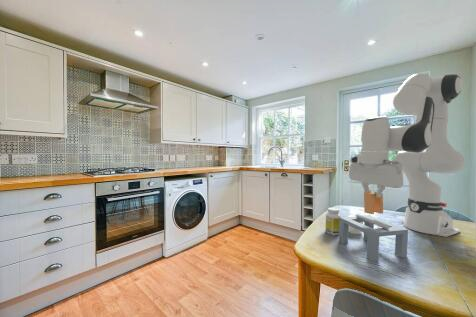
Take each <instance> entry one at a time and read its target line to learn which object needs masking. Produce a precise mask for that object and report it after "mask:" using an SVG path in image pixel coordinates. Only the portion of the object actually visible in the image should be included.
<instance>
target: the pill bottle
mask: <svg viewBox="0 0 476 317" xmlns="http://www.w3.org/2000/svg"><path fill="white" fill-rule="evenodd" d="M339 213H340V209H339V208H337V207H328V208H327V213H326V214H325V232H326V233H327V234H329V235H331V236H332V235H333V236H339V218H340V217H342V216H341V214H339Z"/></svg>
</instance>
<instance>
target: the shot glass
mask: <svg viewBox="0 0 476 317" xmlns="http://www.w3.org/2000/svg"><path fill="white" fill-rule="evenodd" d="M351 216H356V214H347V215H346V217H351ZM359 223H361V224H363V225H364V222H359ZM348 233H351V234H355V235H361V234H362V233H363V232H362V231H359V230H357V229H355V228H353V227H351V226H349V228H348Z"/></svg>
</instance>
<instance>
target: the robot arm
mask: <svg viewBox="0 0 476 317" xmlns="http://www.w3.org/2000/svg"><path fill="white" fill-rule="evenodd" d="M462 89H463V80H462V78H461V77H460V76H459V74H445V75H442V76H435V77H431V76H430V75H428V74H425V73H422V72H421V73H415V74H412V75H411V76H409V77H407V79H406V80H405V81H404V82H403V83H402V84H401V86H399V88H398V90H397V92H396V93H395V95H394V97H393V99H392V105H393V107H394V109H395V110H396V111H398V113H401V114H403V115H407V116H416V118H415V122H414V123H411V124H408V125H395V126H391V125H390V121H389V117H388V116H375V117H374V116H373V117H369V118H366V119H365V120H364V121H363V124H362V127H361V138H360V141H361V142H360V143H361V150H360V154H357V155H355V156H352V157H350V159H349V163H350V165H349V169H348V170H349V172H348V178H349V179H350V181H355V182H361V186H362V187H363V194H364V193H372V189H370V188H369V185H370V184H371V185H376V188H377V190H376V191H373V193H374V196H375V197H381V195H382V193H383V192H384V190H385V188H386V187H387V188H392V189H401V188H402V187H403V186H404V176H403V174H404V175H405V177H406V178H407V181H408V188H409V189H408V190H409V197H408V198H407V205H408V206H407V207H406V208H405V214H404V219H403V220H402V221H401V223H403V226H404V228H406V229H408V230H411V231H415V232H418V233H419V232H420V233H423V234H429V235H434V236H438V237H439V236H440V237H445V238H447V237H450V236H453V235H455V234H458V233H460V232H461V229H459V228H457V227H454V219H453V218H452V217H451V216H450V215H449V214H448V213H446V211H444V208H446V207H447V202H442V201H441V194H442V192H441V191H442V188H441V186H440V184H439V183H438V182H436V181H435V180H432V179H431V178H430V177H429V176H428V174H427V173H433V174H457V173H459V172H461V171H462V170H463V169H464V167H465V166H466V162H467V161H466V157H465V155H464V154H463V153H462V152H461V151H460V150H457V149H456V148H454V147H453V146H452V145H451V144H450V142H449V139H448V134H447V133H448V132H447V130H448V121H449V120H448V119H449V107H448V104H451V102H452V101H453V100H454V99H456V98H457V97H458V96H459V95H460V93H461V91H462ZM390 152H397V153H396V154H395V156H394V160H390V159H389V156H390V154H389V153H390Z"/></svg>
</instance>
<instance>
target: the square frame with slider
mask: <svg viewBox="0 0 476 317" xmlns="http://www.w3.org/2000/svg"><path fill="white" fill-rule="evenodd" d="M355 215H356V216H351V217H347V216H341V217H340V218H339V235H338V242H340V244H341V243H342V244H348V243H349V231H348V228H349V226H351V227H353V228H355V229H357V230H359V231H362V233H363V239H364V240H366V259H367V260H369V261H370V262H372V263H373V262H374V263H375V262H379V252H380V251H379V250H380V249H379V248H380V237H388V236H390V237H391V236H395V244H394V255H396V256H397V257H399V258H401V259H403V258H408V241H409V228H406V227H403V226H400V225H398V224H395V223H391V222H389V221H387V220H383V219H380V218H378V217H375V216H372V215H371V214H367V215H363V214H360V213H356V214H355ZM359 222H363V224H361V223H359ZM375 226H378V228H374V227H375Z"/></svg>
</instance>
